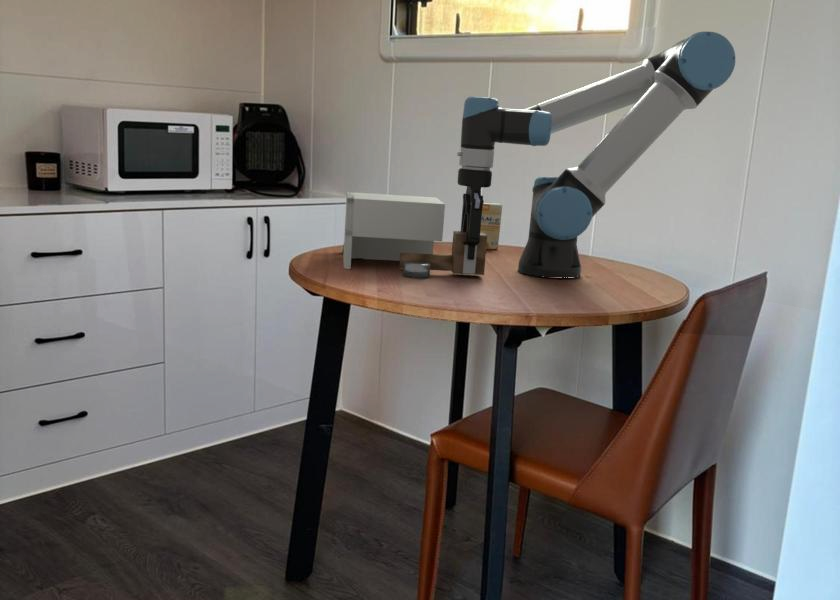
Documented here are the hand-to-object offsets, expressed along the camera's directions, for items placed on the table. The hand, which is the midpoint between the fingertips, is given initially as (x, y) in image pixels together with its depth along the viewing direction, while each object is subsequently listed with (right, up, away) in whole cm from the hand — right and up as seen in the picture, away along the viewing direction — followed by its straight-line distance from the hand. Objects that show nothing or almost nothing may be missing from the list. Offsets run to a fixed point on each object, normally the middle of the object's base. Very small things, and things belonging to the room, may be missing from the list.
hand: (466, 270), depth 182 cm
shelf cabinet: (-18, +2, +8) cm, 20 cm away
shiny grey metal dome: (-12, -1, -4) cm, 12 cm away
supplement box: (+7, +8, +46) cm, 47 cm away
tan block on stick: (-6, 0, -1) cm, 6 cm away
